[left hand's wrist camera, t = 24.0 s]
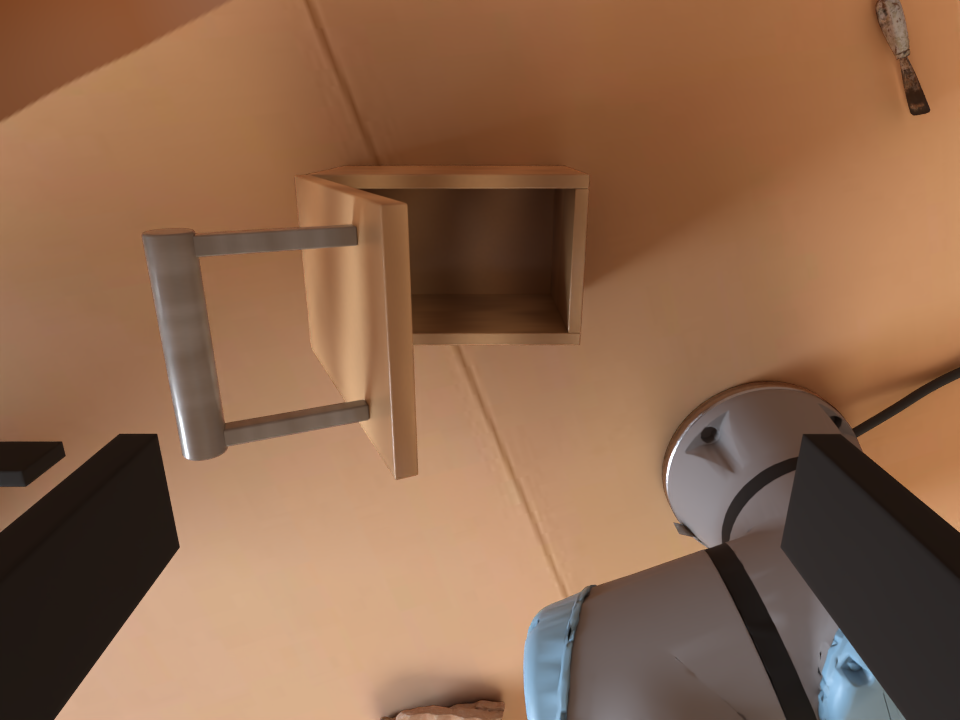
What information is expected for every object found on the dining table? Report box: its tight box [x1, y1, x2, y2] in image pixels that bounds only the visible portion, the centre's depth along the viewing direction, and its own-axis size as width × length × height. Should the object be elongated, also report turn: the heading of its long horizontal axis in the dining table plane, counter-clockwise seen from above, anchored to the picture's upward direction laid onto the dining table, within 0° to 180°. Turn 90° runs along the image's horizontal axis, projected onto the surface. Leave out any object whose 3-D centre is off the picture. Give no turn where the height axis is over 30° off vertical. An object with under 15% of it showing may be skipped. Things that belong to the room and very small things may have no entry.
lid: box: [142, 175, 418, 480], centre depth 27 cm, size 16×10×8 cm
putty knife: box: [876, 0, 930, 115], centre depth 40 cm, size 1×8×2 cm, turn 30°
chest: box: [307, 166, 590, 345], centre depth 40 cm, size 16×10×10 cm, turn 90°
